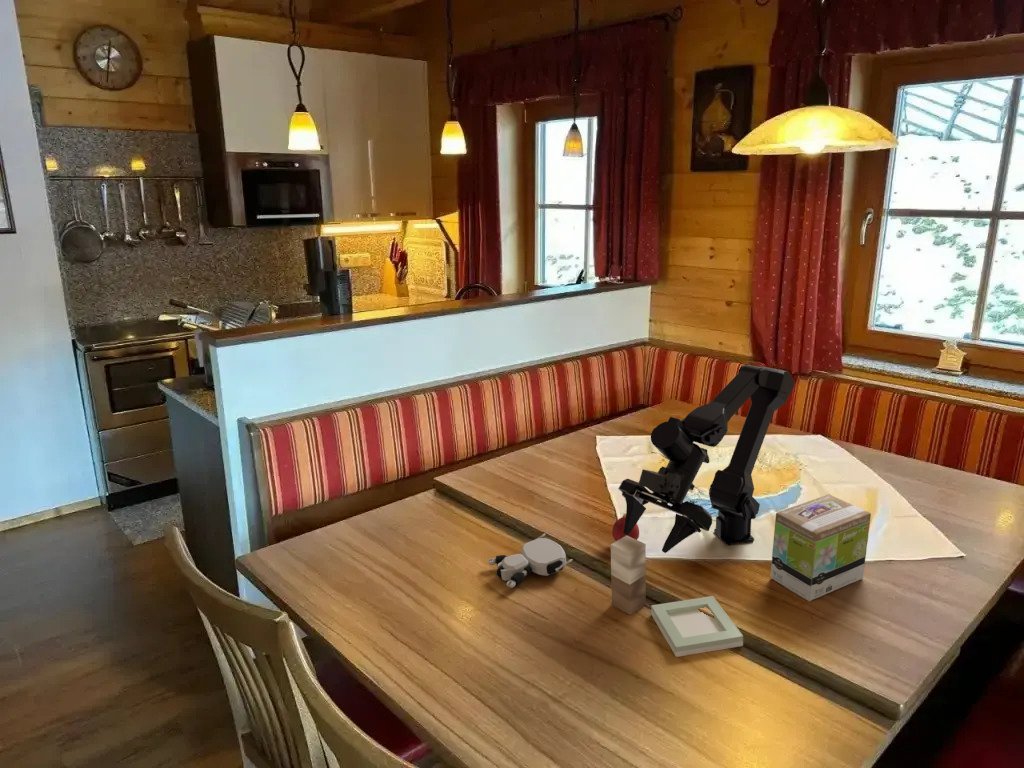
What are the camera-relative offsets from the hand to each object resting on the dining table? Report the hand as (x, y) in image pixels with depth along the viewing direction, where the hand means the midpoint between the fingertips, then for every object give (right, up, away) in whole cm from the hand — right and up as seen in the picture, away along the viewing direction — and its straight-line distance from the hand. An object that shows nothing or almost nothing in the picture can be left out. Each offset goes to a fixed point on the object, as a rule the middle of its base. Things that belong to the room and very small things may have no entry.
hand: (643, 543), depth 133 cm
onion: (0, -6, +20) cm, 21 cm away
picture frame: (+8, -14, -8) cm, 17 cm away
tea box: (+35, -8, +5) cm, 36 cm away
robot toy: (-21, -9, +14) cm, 27 cm away
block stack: (-3, -12, +1) cm, 12 cm away
